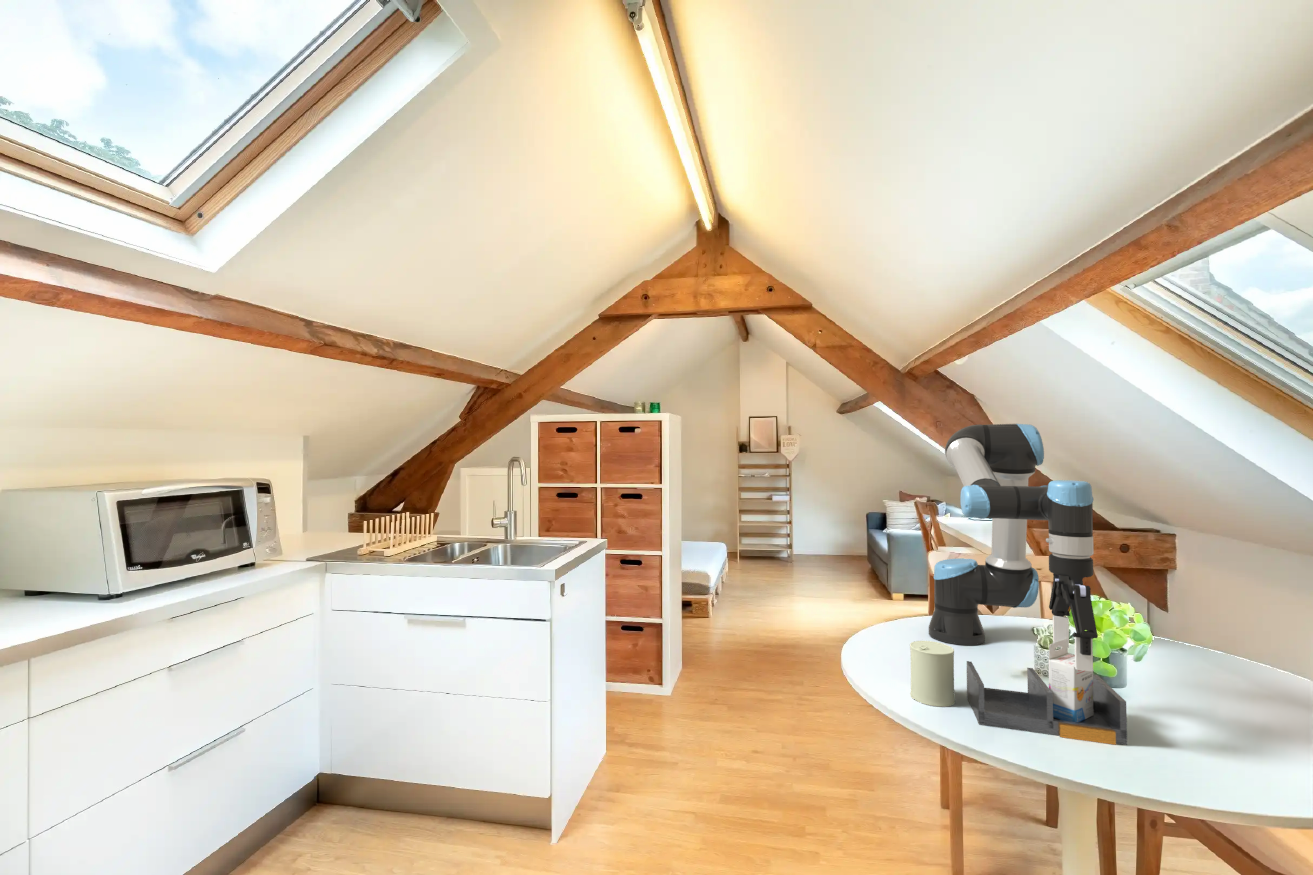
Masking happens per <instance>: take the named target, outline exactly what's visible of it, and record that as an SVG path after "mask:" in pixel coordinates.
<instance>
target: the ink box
mask: <svg viewBox="0 0 1313 875" xmlns="http://www.w3.org/2000/svg"><path fill="white" fill-rule="evenodd" d="M1058 645H1059V646H1061V647H1060V649H1057V648H1059V647H1058ZM1056 649H1057V650H1056ZM1068 651H1069V648H1068V639H1067V638H1066V639H1064V640H1060V641H1057V642H1055V643H1053V642H1052V643H1050V644H1049V646H1048V688H1049V689H1050V690H1051V692H1052V693H1053V717H1055V718H1057V719H1060V720H1064V721H1071V722H1081V721H1083V720H1085V719H1087V718H1089V717H1091V716H1093V715H1094V710H1093V675H1094V671H1093V672H1092V671H1082V670H1076V669H1075V653H1070V652H1068Z"/></svg>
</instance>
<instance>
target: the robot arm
mask: <svg viewBox="0 0 1313 875" xmlns="http://www.w3.org/2000/svg"><path fill="white" fill-rule="evenodd" d="M1044 450H1045V449H1044V442H1043V439H1042V436H1041V433H1040V431H1039V430H1038V428H1037V427H1036V426H1034V425H1032V424H1028V423H1027V424H1026V423H1025V424H1024V423H999V424H998V423H997V424H996V423H995V424H994V423H993V424H972V425H971V424H970V425H968V426H965V427H962V428H961V429H959V430H957V431H956V432H954V433H953V434H952V435H951V436H949V439H948V440H947V441H946V444H945V449H944V454H945V458H946V460H947V462H948V463H949V465H950V466H952V467H953V468H954V469H955V470H956V473H957V475H958V477H959V479H960V482H961V483H962V488H961V490H960V499H959V500H960V508H961V513H962V514H963V515H964V517H966V518H975V519H980V520H982V519H983V520H984V519H992V520H991V521H992V522H991V523H992V524H991V554H989V555H988V556H986V557H985V561H984V562H985V564H979V563H978V561H977V560H976V559H973V558H949V559H942V560H939V561H937V562H936V563H935V565H934V569H933V570H934V571H933V573H934V574H933V580H934V581H933V582H934V583H933V584H934V593H933V594H934V597H933V598H934V610H933V613H932V616H931V618H930V621H929V624H928V635H929V636H930V638H932V639H934V640H937V641H940V642H943V643H948V644H953V645H960V646H979V645H983V644H985V642H986V633H985V631H984V628H983V624H982V622H981V619H980V617H979V614H978V612H979V611H978V609H979V608H978V607H979V605H980V606H981V605H982V606H994V607H995V606H996V607H997V606H998V607H1006V608H1014V609H1016V608H1030V607H1032V606H1033V605H1034V604H1035V602H1036V600H1037V597H1038V595H1039V591H1040V590H1039V589H1040V582H1039V574H1038V571H1037V569H1036V568H1033V567H1032V563H1031V561H1029V560H1028V558H1027V556H1026V555H1027V531H1028V530H1027V526H1028V521H1032V520H1033V521H1047V522H1048V537H1047V538H1045V542H1046V543H1048V551H1049V552H1050V554H1049V555H1048V571H1049V572H1050V573H1052V575H1053V576H1052V579H1053V580H1052V588H1051V593H1050V598H1049V599H1050V600H1049V606H1048V608H1049V610H1050V611H1051V615H1052V643H1055V642H1057V641H1060V640H1064V639H1066V638H1067V639H1068V649H1069V648H1070V638H1069V637H1070V634H1069V633H1070V632H1069V628H1070V627H1069V625H1070V624H1069V622H1070V621H1069V617H1072V619H1073V623H1074V628H1075V632H1073V633H1072V637H1073V638H1074V655H1075V669H1076V670H1082V671H1092V672H1093V673H1094V658H1093V656H1094V655H1093V653H1094V650H1093V648H1094V646H1093V640H1094V639H1098V635H1099V634H1098V631H1097V626H1096V619H1095V613H1094V608H1093V604H1092V597H1091V595H1092V594H1091V592H1092V591H1091V586H1090V585H1084V581H1083V579H1085V578H1091V577H1092V576H1093V575H1094V559H1093V557H1091V556H1093V555H1094V553H1095V551H1094V534H1093V533H1094V531H1093V530H1094V527H1093V526H1094V525H1093V524H1094V523H1093V521H1094V519H1093V518H1094V515H1093V514H1094V512H1093V511H1094V510H1093V509H1094V508H1093V507H1094V506H1093V505H1094V504H1093V503H1094V496H1093V488H1092V484H1091V483H1090V482H1088V481H1084V480H1070V479H1069V480H1068V479H1067V480H1066V479H1064V480H1063V479H1062V480H1061V479H1060V480H1059V479H1057V480H1051V481H1050V482H1049V481H1048V482H1049V483H1048V484H1047V485H1041V486H1029V478H1030V477H1031V476H1033V475H1034V474H1035V473H1036V466H1041V465H1043V463H1044V459H1045V451H1044ZM1070 612H1071V613H1070ZM1057 648H1061V646H1059V645H1058V647H1057Z"/></svg>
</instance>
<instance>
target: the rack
mask: <svg viewBox="0 0 1313 875" xmlns="http://www.w3.org/2000/svg"><path fill="white" fill-rule="evenodd" d="M1026 668H1027V673H1026V674H1027V679H1026V680H1027V692H1026V691H1025V692H1024V691H1017V690H1016V691H1015V690H1008V689H1001V688H1000V689H999V688H992V687H985V684H984V682H983V680H982V678H981V677H980V674H979V673H978V671H977V670H976V669H977V668H976V667H975V665H974V663H973V662H972V661H969V660H966V698H967V700H968V702H969V706H971V710H972V712H973V714H974V717H975V719H976V720H977V723H978V725H980V726H986V727H993V728H1000V729H1007V730H1016V731H1022V732H1023V731H1024V732H1030V733H1035V734H1037V733H1038V734H1043V735H1044V734H1045V735H1051V736H1059V737H1060V738H1065V739H1071V740H1078V741H1083V742H1084V741H1085V742H1093V743H1098V744H1099V743H1100V744H1106V745H1112V746H1113V745H1115V746H1116V745H1123V746H1128V725H1127V723H1128V721H1127V700H1125V699H1124V698H1123V697H1122V696H1121V695H1120V694H1119V693H1118V692H1117V691H1116V690H1114V689H1113V688H1112V687H1111V686H1110V685H1109V684H1108V683H1107V682H1106V681H1105V680H1103V679H1102V677H1100V676H1099V674H1093V710H1094V715H1093V716H1091V717H1089V718H1087V719H1085V720H1083V721H1081V722H1071V721H1064V720H1060V719H1057V718H1055V717H1053V693H1052V692H1051V690H1050V689H1049V686H1048V685H1047V684H1046V683H1045V681H1044V680H1043V679H1042V678H1041V677H1040V676H1039V674H1038V673H1037V672H1036V670H1034V668H1033V667H1026Z"/></svg>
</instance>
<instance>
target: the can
mask: <svg viewBox="0 0 1313 875" xmlns="http://www.w3.org/2000/svg"><path fill="white" fill-rule="evenodd" d="M909 646H910V647H909V648H910V693H909V694H910V697H911V698H912V699H913V700H914V699H915V700H914V701H915V702H918V703H920V702H921V703H920V704H923V705H926V706H930V707H931V706H932V707H937V708H938V707H939V708H945V707H951V706H953V705H955V703H956V698H955V669H954V668H955V665H954V664H955V649H954V648H953V647H952V646H950V645H948V644H945V643H942V642H937V641H930V640H916V641H912V642H911V643H910V644H909Z"/></svg>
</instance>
